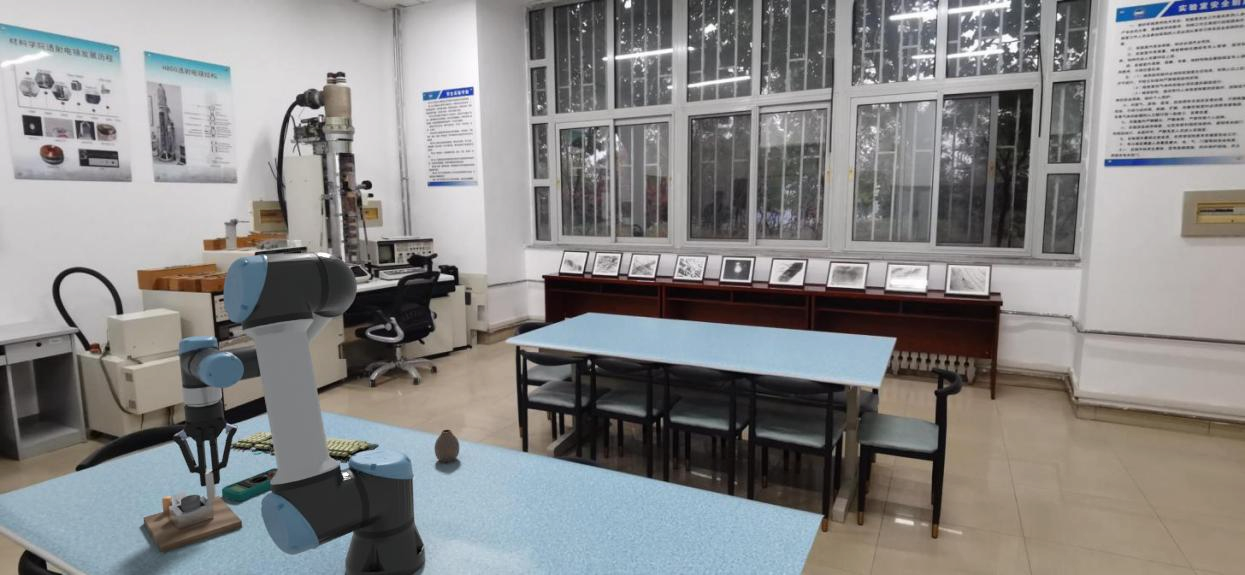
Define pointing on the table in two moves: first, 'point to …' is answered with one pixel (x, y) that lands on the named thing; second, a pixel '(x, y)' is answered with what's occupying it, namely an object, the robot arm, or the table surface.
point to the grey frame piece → (190, 512)
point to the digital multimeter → (249, 486)
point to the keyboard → (336, 447)
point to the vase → (446, 446)
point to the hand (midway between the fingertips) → (211, 497)
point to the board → (174, 537)
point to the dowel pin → (166, 504)
